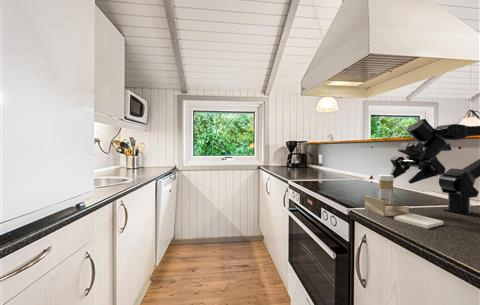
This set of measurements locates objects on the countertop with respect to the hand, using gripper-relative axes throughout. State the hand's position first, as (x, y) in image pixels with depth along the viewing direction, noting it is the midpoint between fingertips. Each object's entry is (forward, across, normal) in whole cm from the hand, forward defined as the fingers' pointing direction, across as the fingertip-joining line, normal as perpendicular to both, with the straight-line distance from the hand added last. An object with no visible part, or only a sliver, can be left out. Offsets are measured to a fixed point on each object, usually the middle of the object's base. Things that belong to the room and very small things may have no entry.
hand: (399, 180), depth 82 cm
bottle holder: (+12, 0, +5) cm, 12 cm away
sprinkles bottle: (+12, 0, +5) cm, 13 cm away
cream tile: (+10, +12, +6) cm, 16 cm away
